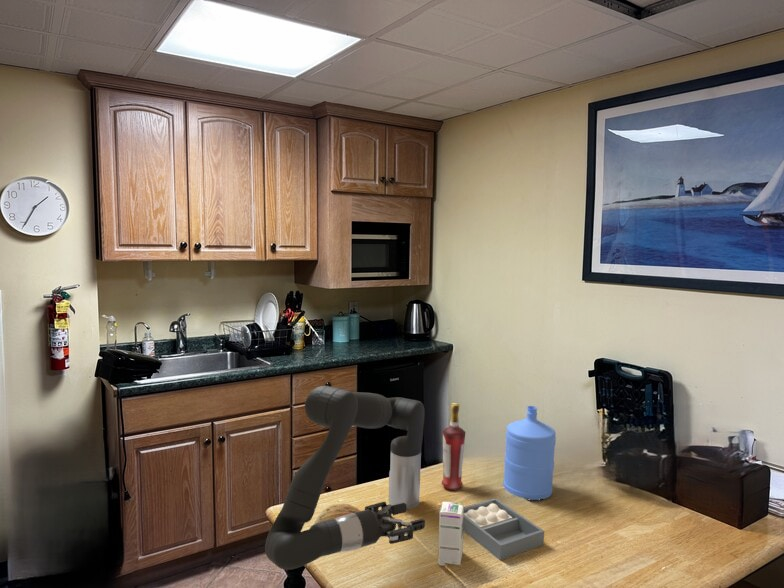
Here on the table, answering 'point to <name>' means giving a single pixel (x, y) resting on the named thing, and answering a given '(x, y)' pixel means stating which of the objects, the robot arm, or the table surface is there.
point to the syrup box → (450, 533)
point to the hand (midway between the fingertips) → (414, 514)
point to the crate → (504, 532)
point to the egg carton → (487, 515)
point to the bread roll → (336, 512)
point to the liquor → (453, 451)
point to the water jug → (529, 457)
